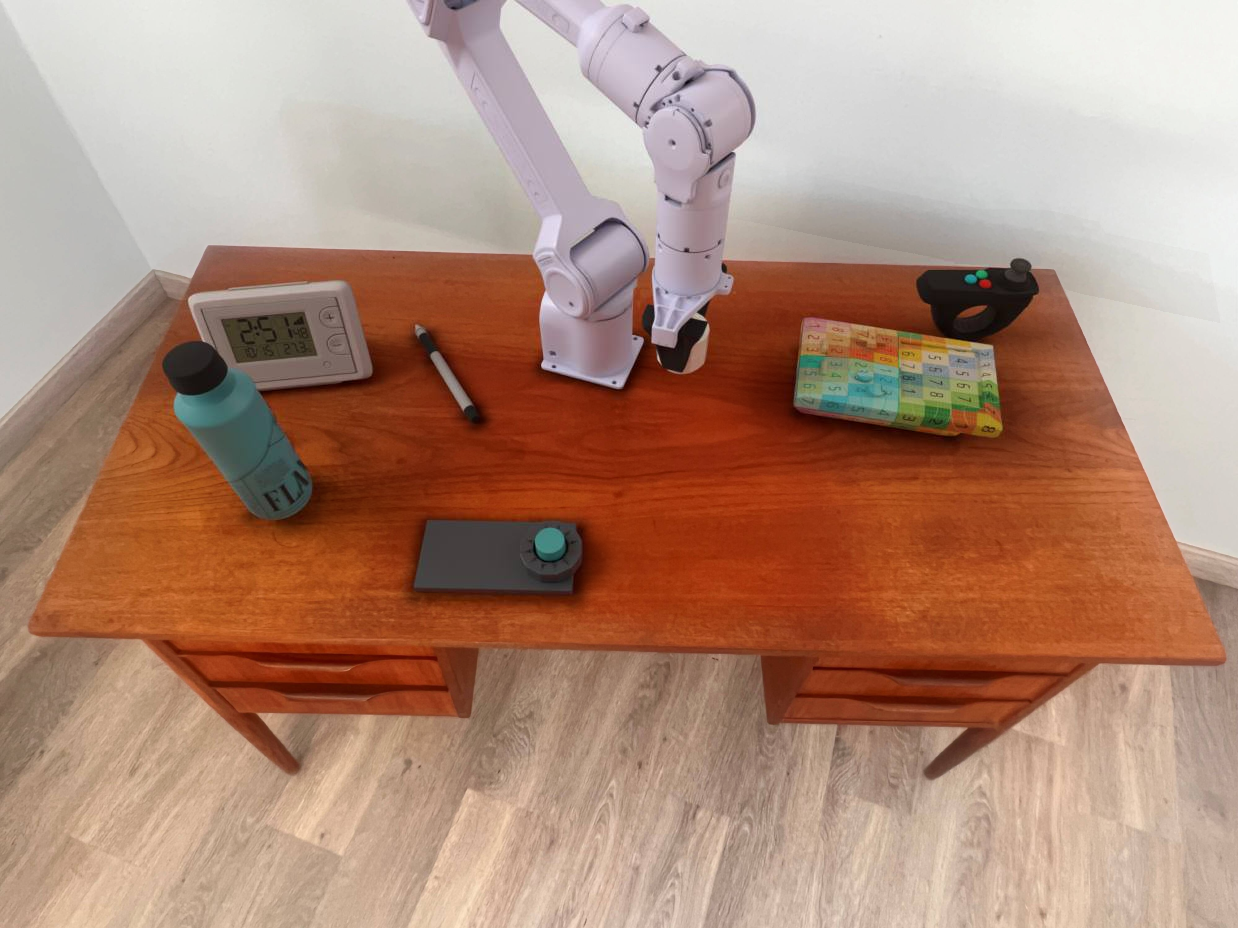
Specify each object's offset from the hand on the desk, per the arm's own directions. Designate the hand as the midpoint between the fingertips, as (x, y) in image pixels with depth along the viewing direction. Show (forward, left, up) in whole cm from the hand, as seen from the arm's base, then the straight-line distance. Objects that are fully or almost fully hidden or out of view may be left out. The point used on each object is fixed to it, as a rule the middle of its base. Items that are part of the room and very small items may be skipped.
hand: (680, 349), depth 72 cm
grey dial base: (-10, -23, -8) cm, 27 cm away
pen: (-25, -4, -9) cm, 27 cm away
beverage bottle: (-32, -24, -9) cm, 41 cm away
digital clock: (-40, -9, -9) cm, 42 cm away
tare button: (-5, -22, -6) cm, 23 cm away
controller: (+27, +21, -9) cm, 35 cm away
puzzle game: (+21, +9, -9) cm, 24 cm away
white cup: (0, 0, -1) cm, 1 cm away
